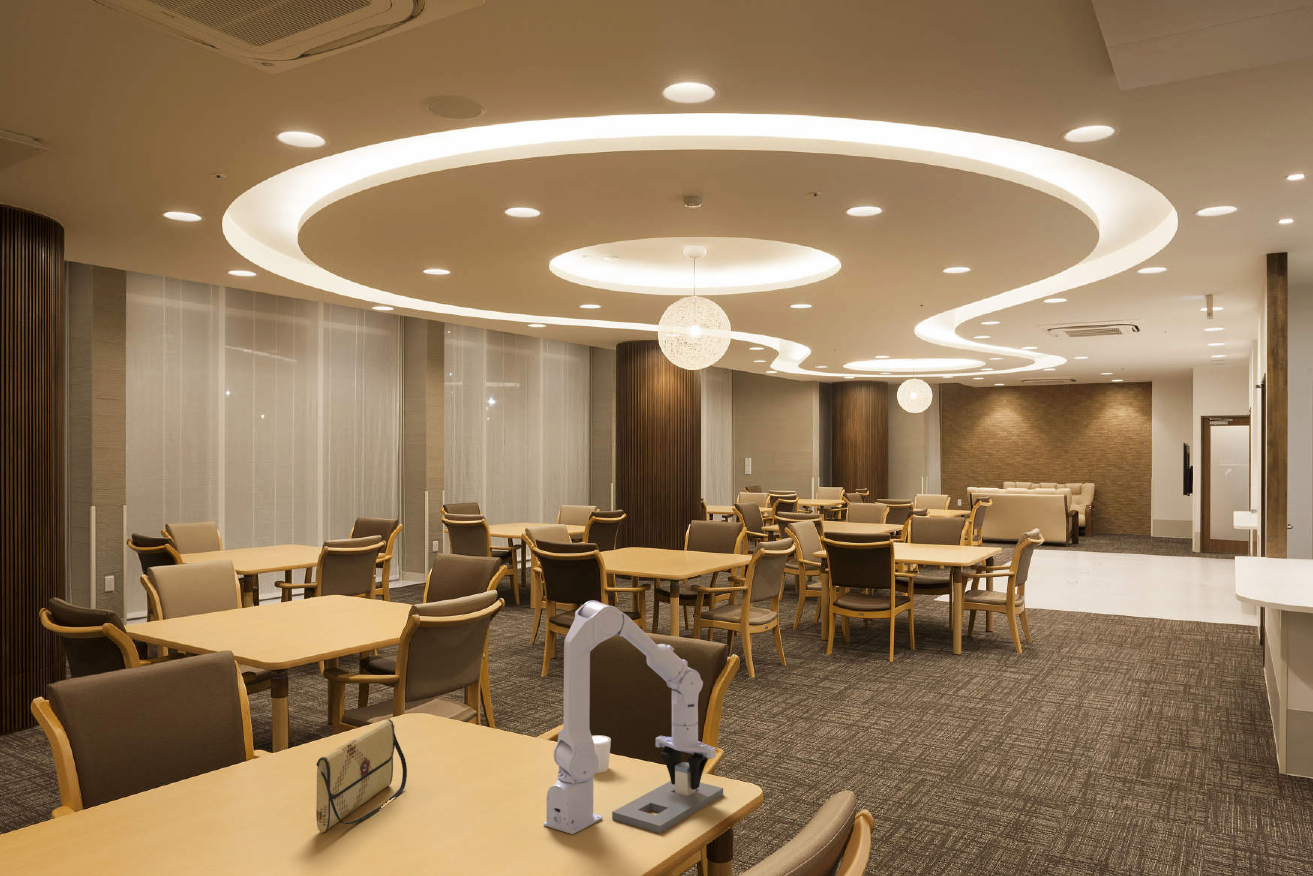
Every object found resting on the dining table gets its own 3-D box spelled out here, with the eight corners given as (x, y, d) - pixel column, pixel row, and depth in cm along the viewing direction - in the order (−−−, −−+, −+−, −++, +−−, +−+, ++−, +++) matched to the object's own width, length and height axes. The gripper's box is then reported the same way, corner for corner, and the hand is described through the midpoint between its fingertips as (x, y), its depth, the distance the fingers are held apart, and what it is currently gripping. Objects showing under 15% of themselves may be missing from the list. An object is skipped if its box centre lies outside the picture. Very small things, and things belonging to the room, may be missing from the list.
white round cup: (613, 764, 203) (613, 735, 203) (608, 774, 196) (608, 744, 197) (585, 763, 204) (585, 734, 204) (579, 773, 197) (579, 743, 197)
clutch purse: (343, 839, 162) (343, 761, 163) (310, 837, 163) (311, 759, 164) (414, 784, 191) (415, 717, 192) (386, 782, 192) (387, 716, 193)
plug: (687, 802, 179) (687, 768, 180) (675, 798, 181) (675, 766, 182) (695, 797, 182) (695, 764, 182) (683, 794, 184) (683, 761, 184)
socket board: (660, 833, 163) (660, 826, 164) (612, 819, 170) (612, 811, 170) (723, 795, 183) (723, 788, 183) (678, 783, 190) (677, 777, 190)
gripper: (722, 723, 181) (723, 787, 181) (668, 712, 190) (668, 773, 189) (705, 731, 176) (706, 797, 175) (649, 720, 184) (650, 782, 183)
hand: (685, 785), depth 182 cm, fingers open, 5 cm apart
